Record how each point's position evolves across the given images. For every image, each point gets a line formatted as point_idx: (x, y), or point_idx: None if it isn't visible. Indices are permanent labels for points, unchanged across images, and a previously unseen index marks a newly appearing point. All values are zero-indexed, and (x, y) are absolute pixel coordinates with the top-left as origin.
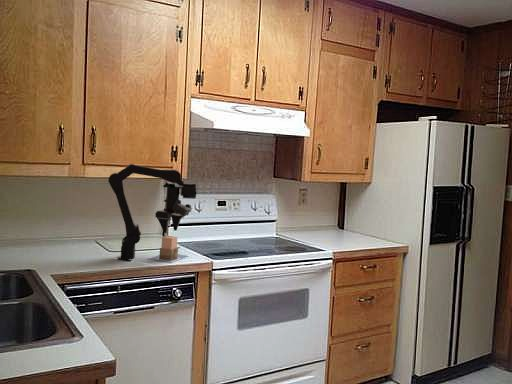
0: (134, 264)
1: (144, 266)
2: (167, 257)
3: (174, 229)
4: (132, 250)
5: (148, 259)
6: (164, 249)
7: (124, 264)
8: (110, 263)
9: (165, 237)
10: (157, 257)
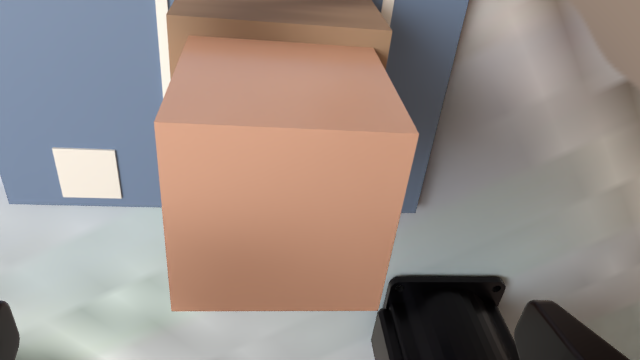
0: (562, 219)
1: (608, 132)
2: None
3: (10, 354)
4: (487, 351)
5: (415, 199)
6: None
7: (584, 266)
8: None
9: (377, 265)
10: None
